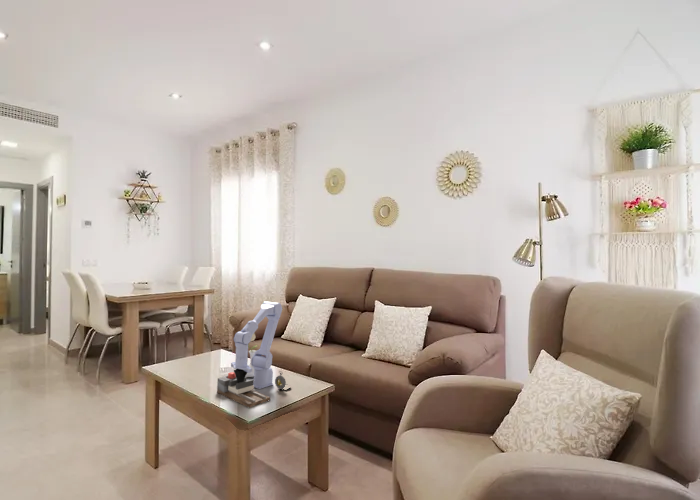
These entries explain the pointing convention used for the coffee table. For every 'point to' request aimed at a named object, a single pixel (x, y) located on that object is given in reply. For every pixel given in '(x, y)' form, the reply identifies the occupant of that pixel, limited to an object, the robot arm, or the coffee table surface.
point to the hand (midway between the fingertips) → (240, 384)
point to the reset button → (231, 375)
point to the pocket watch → (280, 381)
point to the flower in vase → (251, 357)
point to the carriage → (240, 386)
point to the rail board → (244, 398)
